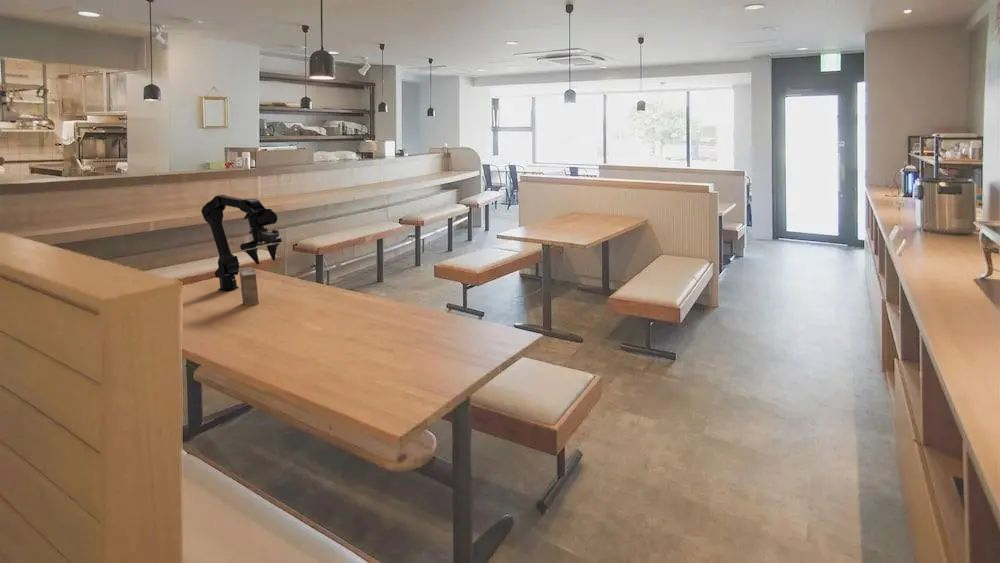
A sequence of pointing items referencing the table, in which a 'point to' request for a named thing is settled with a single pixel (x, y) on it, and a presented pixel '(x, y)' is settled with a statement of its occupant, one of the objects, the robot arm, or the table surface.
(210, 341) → the table surface
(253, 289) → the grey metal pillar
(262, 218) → the robot arm
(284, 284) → the table surface
